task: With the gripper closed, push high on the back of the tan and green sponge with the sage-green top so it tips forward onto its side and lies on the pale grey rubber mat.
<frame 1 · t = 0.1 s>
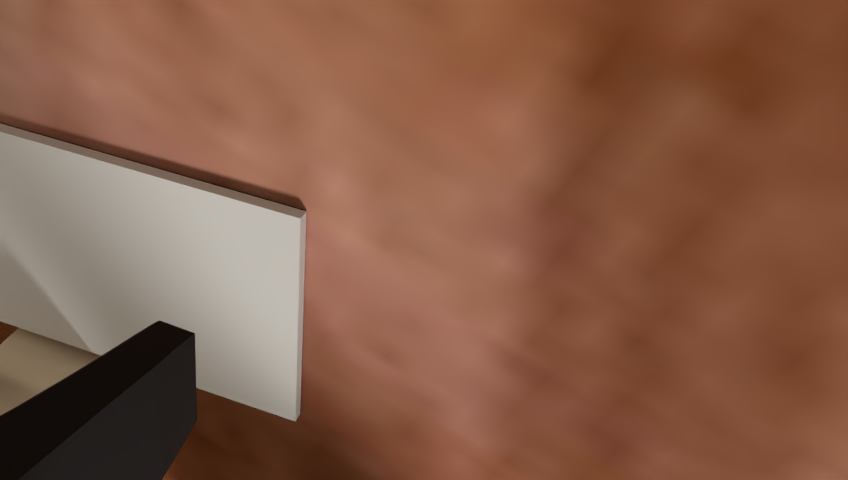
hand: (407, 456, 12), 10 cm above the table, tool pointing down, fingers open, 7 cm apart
tan and green sponge: (72, 376, 31), on the table
mat: (40, 240, 27), on the table
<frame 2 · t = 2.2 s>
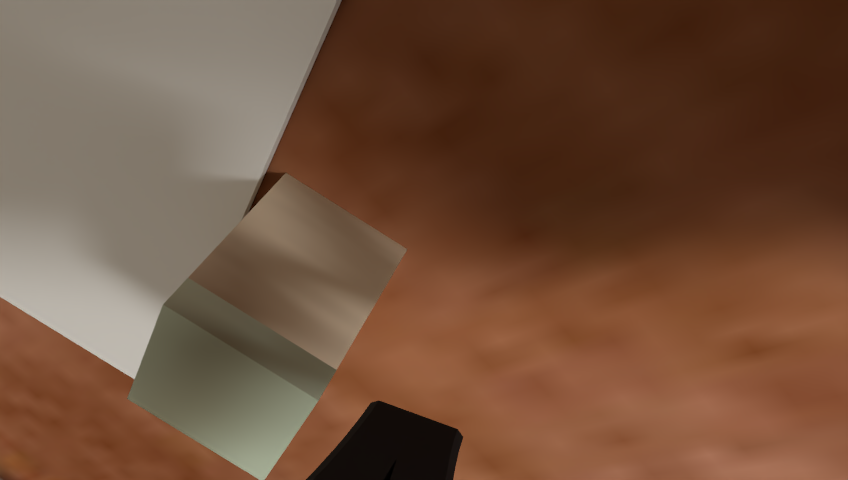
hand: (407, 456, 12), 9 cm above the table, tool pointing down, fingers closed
tan and green sponge: (321, 256, 23), on the table
mat: (116, 129, 23), on the table
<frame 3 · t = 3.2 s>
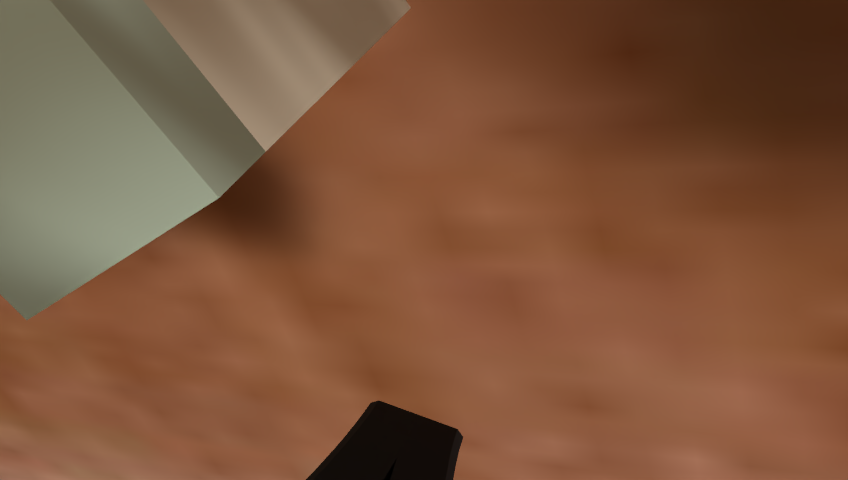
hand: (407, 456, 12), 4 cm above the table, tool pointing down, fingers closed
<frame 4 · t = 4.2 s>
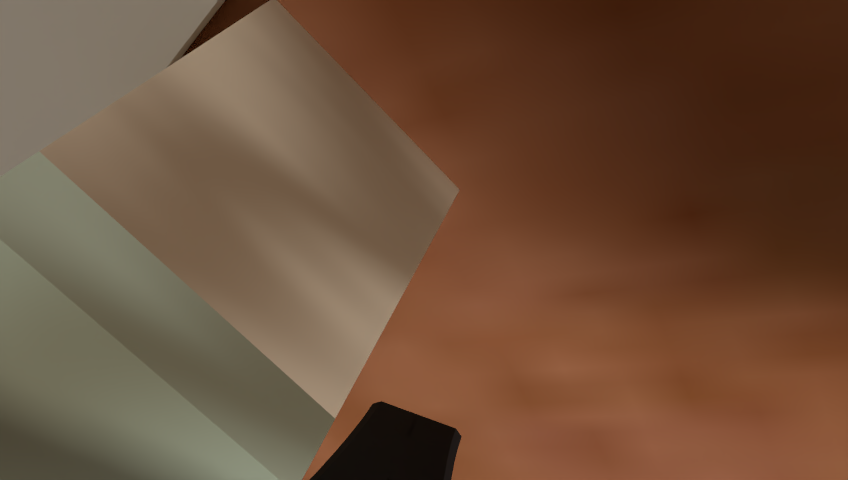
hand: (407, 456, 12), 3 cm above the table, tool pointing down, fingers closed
tan and green sponge: (296, 166, 13), on the table, touching gripper
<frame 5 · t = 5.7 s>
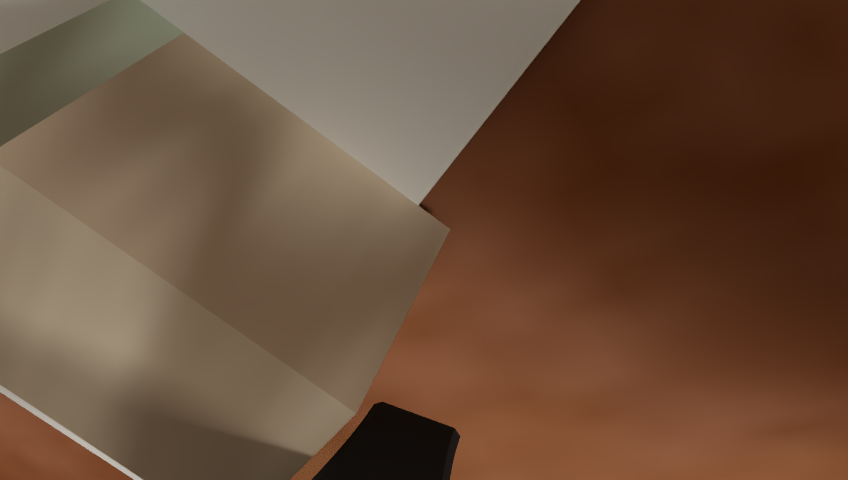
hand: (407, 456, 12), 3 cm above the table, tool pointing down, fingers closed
tan and green sponge: (343, 379, 12), point 2 cm above the table, tilted 90°, touching gripper, mat
mat: (151, 114, 13), on the table
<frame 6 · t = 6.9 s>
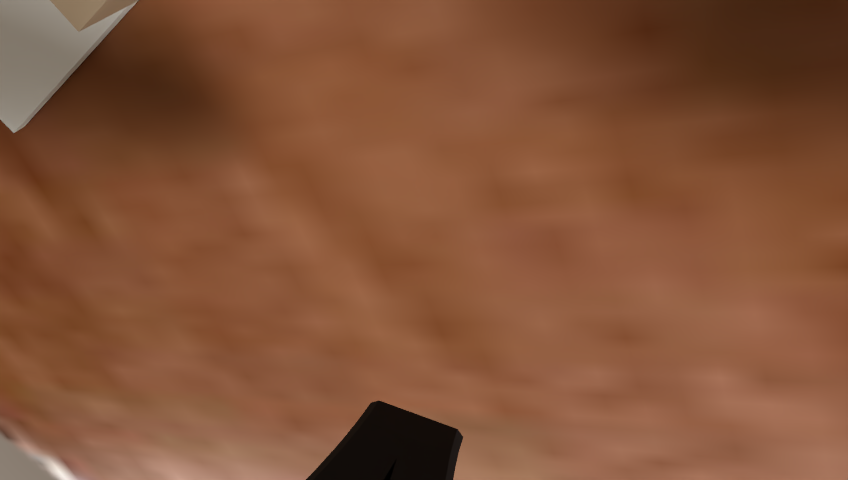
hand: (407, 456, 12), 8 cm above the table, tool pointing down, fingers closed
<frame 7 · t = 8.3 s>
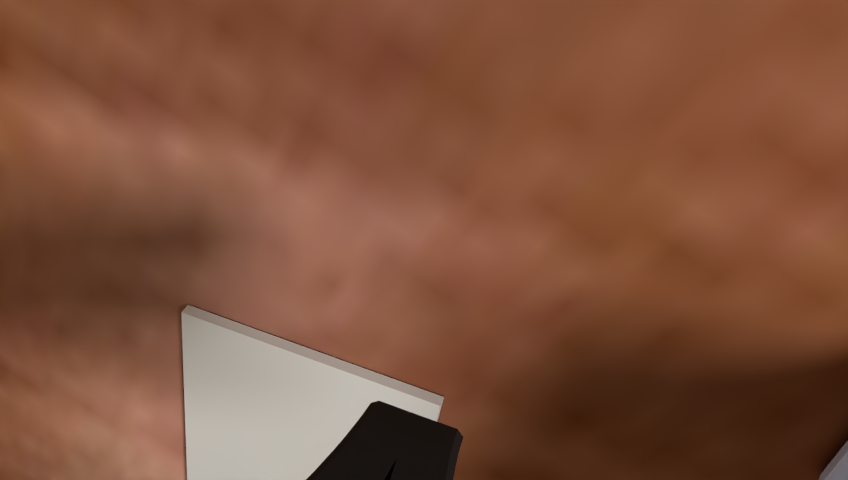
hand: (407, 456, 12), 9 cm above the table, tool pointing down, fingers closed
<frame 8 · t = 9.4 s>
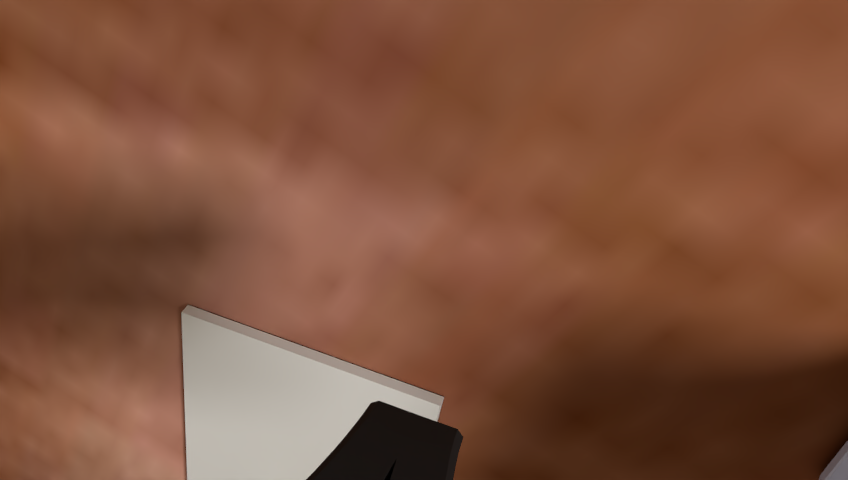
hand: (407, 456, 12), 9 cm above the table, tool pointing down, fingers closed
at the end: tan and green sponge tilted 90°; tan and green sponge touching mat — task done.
